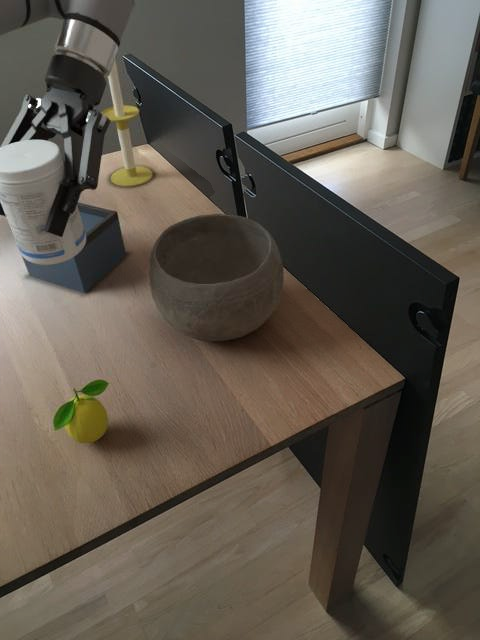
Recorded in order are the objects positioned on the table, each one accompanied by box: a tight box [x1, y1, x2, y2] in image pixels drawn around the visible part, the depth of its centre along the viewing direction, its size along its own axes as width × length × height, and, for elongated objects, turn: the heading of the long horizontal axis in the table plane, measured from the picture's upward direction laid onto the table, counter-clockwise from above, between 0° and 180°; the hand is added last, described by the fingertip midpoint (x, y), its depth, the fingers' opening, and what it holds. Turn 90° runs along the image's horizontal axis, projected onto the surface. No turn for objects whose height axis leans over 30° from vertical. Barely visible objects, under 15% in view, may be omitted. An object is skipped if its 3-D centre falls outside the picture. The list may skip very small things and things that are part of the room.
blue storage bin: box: [20, 201, 127, 293], centre depth 100 cm, size 13×13×10 cm
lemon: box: [52, 379, 110, 444], centre depth 70 cm, size 7×6×10 cm
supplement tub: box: [0, 140, 86, 265], centre depth 74 cm, size 10×10×15 cm
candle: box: [100, 59, 154, 188], centre depth 118 cm, size 10×10×32 cm
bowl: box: [148, 213, 285, 342], centre depth 85 cm, size 21×21×15 cm
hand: (26, 224), depth 73 cm, fingers closed on supplement tub, 9 cm apart
